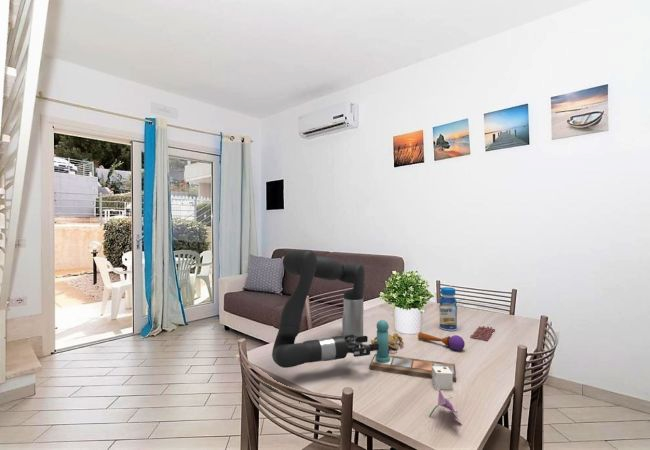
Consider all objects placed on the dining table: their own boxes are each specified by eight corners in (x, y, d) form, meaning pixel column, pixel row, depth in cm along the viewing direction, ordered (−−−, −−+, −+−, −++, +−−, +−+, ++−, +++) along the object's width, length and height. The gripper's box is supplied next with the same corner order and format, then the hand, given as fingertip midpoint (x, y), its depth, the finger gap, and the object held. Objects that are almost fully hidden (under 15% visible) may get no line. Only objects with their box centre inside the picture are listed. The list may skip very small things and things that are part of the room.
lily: (453, 442, 76) (472, 406, 77) (409, 408, 83) (427, 375, 83) (458, 431, 86) (474, 399, 87) (418, 401, 93) (434, 371, 93)
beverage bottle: (460, 329, 158) (460, 288, 158) (450, 332, 153) (450, 290, 154) (446, 324, 165) (445, 286, 165) (435, 327, 160) (435, 287, 161)
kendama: (423, 329, 147) (467, 336, 132) (423, 342, 146) (467, 351, 131) (416, 329, 143) (460, 336, 128) (416, 343, 142) (460, 352, 127)
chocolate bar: (495, 331, 156) (495, 327, 156) (487, 342, 141) (487, 338, 141) (479, 328, 161) (479, 324, 161) (470, 339, 146) (470, 334, 146)
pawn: (374, 361, 116) (374, 321, 116) (376, 356, 121) (376, 317, 121) (388, 363, 114) (388, 322, 114) (390, 358, 119) (390, 319, 119)
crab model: (379, 339, 145) (379, 327, 145) (407, 344, 138) (407, 332, 138) (363, 349, 133) (363, 336, 133) (392, 356, 125) (392, 342, 125)
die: (436, 389, 100) (436, 372, 100) (432, 381, 105) (432, 365, 105) (452, 389, 99) (452, 373, 99) (447, 382, 104) (447, 366, 104)
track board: (369, 369, 114) (369, 364, 114) (375, 357, 124) (375, 352, 124) (456, 382, 104) (456, 377, 104) (454, 368, 114) (454, 363, 114)
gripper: (338, 344, 104) (382, 338, 110) (323, 331, 118) (363, 326, 123) (338, 367, 104) (382, 360, 110) (324, 351, 117) (363, 345, 123)
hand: (372, 342), depth 116 cm, fingers open, 8 cm apart
